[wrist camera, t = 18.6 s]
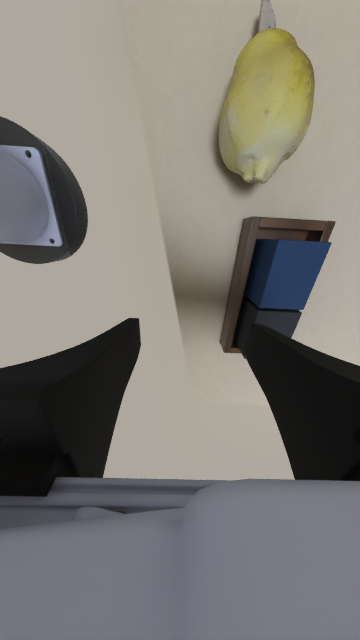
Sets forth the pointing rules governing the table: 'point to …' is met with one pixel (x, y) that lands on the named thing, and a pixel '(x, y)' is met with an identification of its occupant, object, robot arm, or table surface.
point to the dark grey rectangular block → (263, 321)
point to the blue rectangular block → (284, 272)
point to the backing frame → (249, 234)
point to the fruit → (266, 102)
